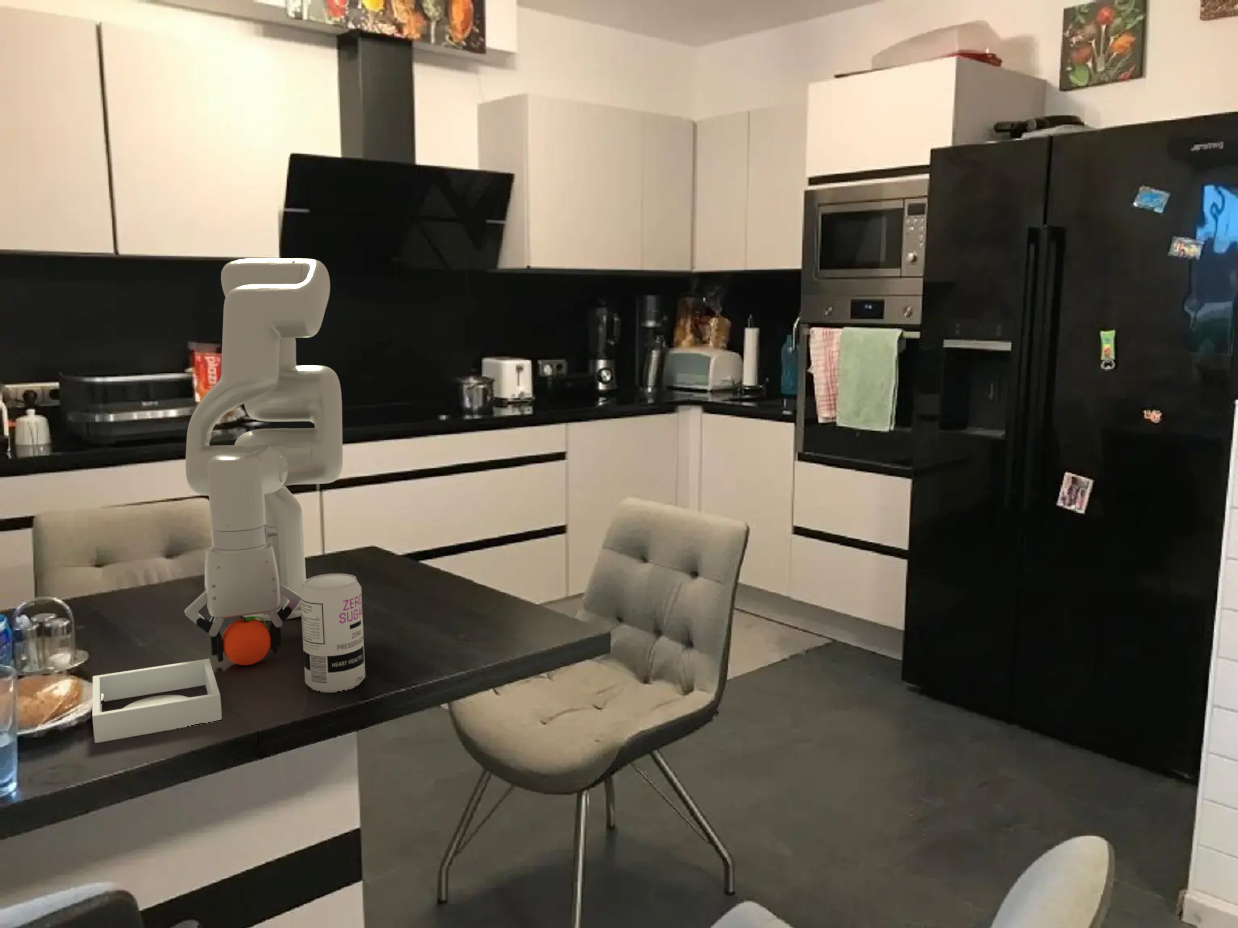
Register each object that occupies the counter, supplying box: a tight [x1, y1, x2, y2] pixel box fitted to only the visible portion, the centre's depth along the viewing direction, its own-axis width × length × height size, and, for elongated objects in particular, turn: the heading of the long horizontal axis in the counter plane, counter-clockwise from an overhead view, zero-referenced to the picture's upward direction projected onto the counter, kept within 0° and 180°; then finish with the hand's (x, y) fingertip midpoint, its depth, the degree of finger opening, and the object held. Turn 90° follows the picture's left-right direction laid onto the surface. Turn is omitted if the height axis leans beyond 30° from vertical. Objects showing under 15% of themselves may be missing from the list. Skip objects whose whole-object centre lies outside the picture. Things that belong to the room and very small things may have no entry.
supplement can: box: [300, 573, 366, 693], centre depth 142 cm, size 8×8×15 cm
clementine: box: [221, 616, 271, 666], centre depth 151 cm, size 8×7×7 cm
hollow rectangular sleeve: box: [91, 658, 223, 744], centre depth 134 cm, size 15×15×4 cm
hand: (247, 654), depth 151 cm, fingers closed on clementine, 7 cm apart
